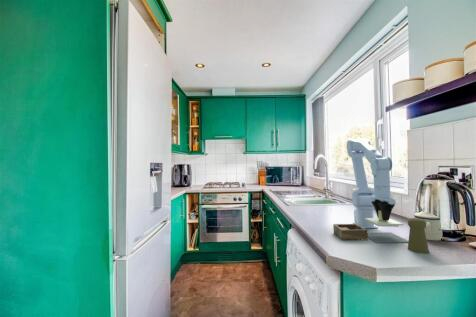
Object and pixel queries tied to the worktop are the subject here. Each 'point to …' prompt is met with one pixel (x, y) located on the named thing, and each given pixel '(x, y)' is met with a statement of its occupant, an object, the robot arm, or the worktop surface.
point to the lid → (383, 221)
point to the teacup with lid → (431, 225)
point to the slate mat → (386, 238)
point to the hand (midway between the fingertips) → (383, 219)
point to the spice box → (350, 232)
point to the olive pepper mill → (417, 236)
